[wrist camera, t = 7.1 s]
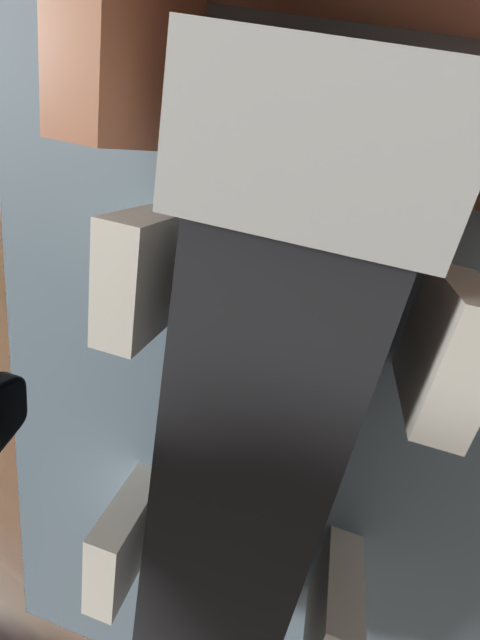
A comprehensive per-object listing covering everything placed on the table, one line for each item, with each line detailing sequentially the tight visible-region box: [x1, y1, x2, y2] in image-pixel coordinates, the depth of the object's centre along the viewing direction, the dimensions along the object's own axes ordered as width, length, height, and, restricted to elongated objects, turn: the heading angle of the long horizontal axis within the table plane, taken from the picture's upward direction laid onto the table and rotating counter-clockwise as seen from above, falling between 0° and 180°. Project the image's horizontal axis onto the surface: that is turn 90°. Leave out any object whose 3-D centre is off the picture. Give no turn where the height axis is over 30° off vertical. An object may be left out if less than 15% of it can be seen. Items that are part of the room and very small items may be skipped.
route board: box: [0, 0, 480, 640], centre depth 9 cm, size 22×14×3 cm, turn 169°
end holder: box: [37, 0, 480, 212], centre depth 5 cm, size 3×7×3 cm, turn 79°
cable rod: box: [132, 12, 480, 640], centre depth 8 cm, size 12×3×3 cm, turn 169°
